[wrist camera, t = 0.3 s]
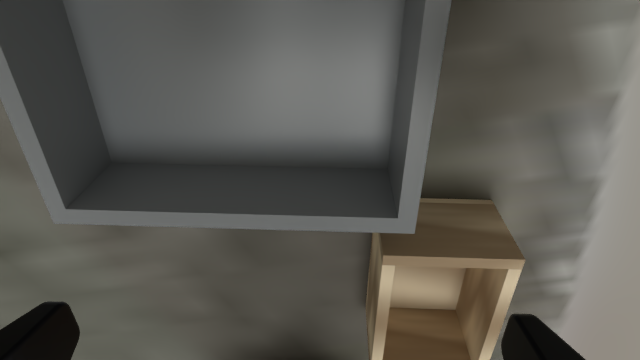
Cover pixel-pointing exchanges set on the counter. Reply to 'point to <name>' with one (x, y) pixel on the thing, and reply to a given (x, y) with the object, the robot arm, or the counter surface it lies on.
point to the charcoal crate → (225, 109)
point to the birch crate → (442, 283)
